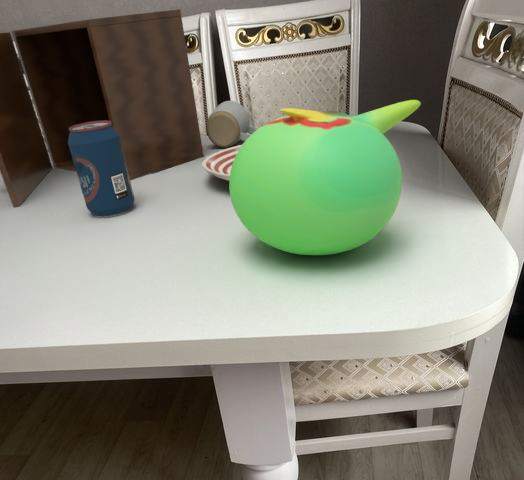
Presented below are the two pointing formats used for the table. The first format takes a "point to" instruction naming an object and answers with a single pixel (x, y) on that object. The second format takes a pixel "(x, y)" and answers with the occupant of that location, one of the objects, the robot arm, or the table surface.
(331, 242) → the toy bird
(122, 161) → the soda can
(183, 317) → the table surface
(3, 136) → the cupboard door
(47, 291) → the table surface
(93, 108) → the cupboard
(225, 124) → the ceramic mug
